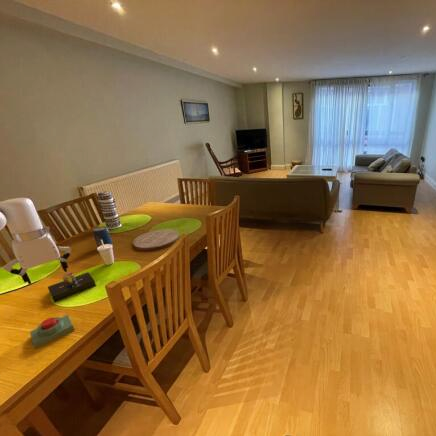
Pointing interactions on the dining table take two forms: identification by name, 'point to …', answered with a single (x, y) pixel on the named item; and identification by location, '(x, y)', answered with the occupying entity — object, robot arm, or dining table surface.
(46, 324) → the power button
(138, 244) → the trivet
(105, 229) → the soda can
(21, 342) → the dining table surface
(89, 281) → the hob panel
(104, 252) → the smoothie
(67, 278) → the hob knob
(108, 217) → the grey ringed cylinder
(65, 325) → the push button box
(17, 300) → the dining table surface
